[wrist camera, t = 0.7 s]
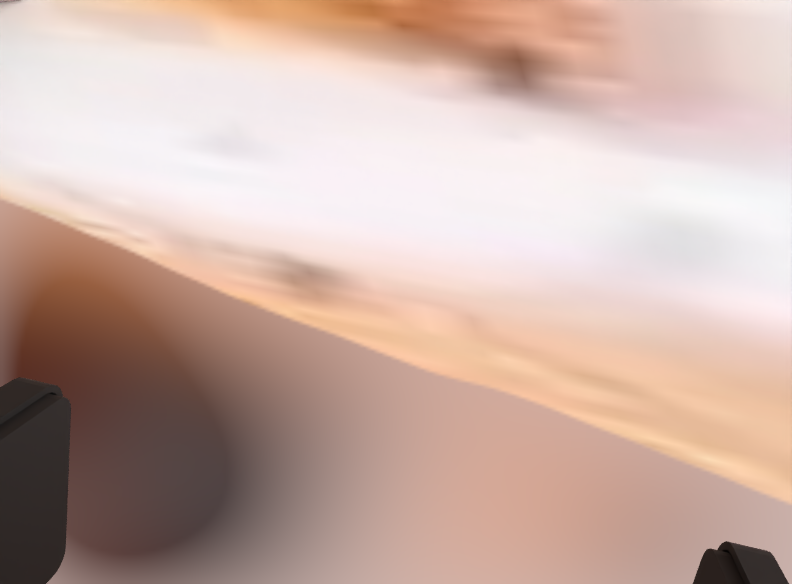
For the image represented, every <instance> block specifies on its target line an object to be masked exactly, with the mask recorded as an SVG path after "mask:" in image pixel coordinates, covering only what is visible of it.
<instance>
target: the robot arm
mask: <svg viewBox="0 0 792 584" xmlns="http://www.w3.org/2000/svg"><path fill="white" fill-rule="evenodd" d="M70 405H71V404H70V402H69V400H68V399H67V398H65V397H63V394H62V392H61V389H60V388H59V387H58V386H56V385H52V384H47V383H43V382H39V381H35V380H30V379H26V378H17V379H14V380H12V381H10V382H9V383H7V384H5V385H4V386H2V387H0V584H46V583H47V582H48V581H49V580H50V579H51V578H52V577H53V575H54V574H55V573H56V572H57V570H58V568H59V567H60V565H61V562H62V560H63V557H64V554H65V547H66V524H67V523H66V522H67V497H68V471H69V445H70V419H71V406H70ZM693 584H789V583H788V581H787V579H786V578H785V576H784V574H783V572H782V570H781V569H780V567H779V565H778V563H777V561H776V560H775V558H774V556H773V555H772V554H771V553H770V552H768V551H765V550H761V549H757V548H753V547H748V546H744V545H740V544H735V543H731V542H727V541H726V542H724V543H722V544H721V545H720V546H719V548H718V550H714V549H707V550H706V551H705V553H704V555H703V557H702V559H701V562H700V565H699V568H698V571H697V574H696V576H695V579H694V582H693Z"/></svg>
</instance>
